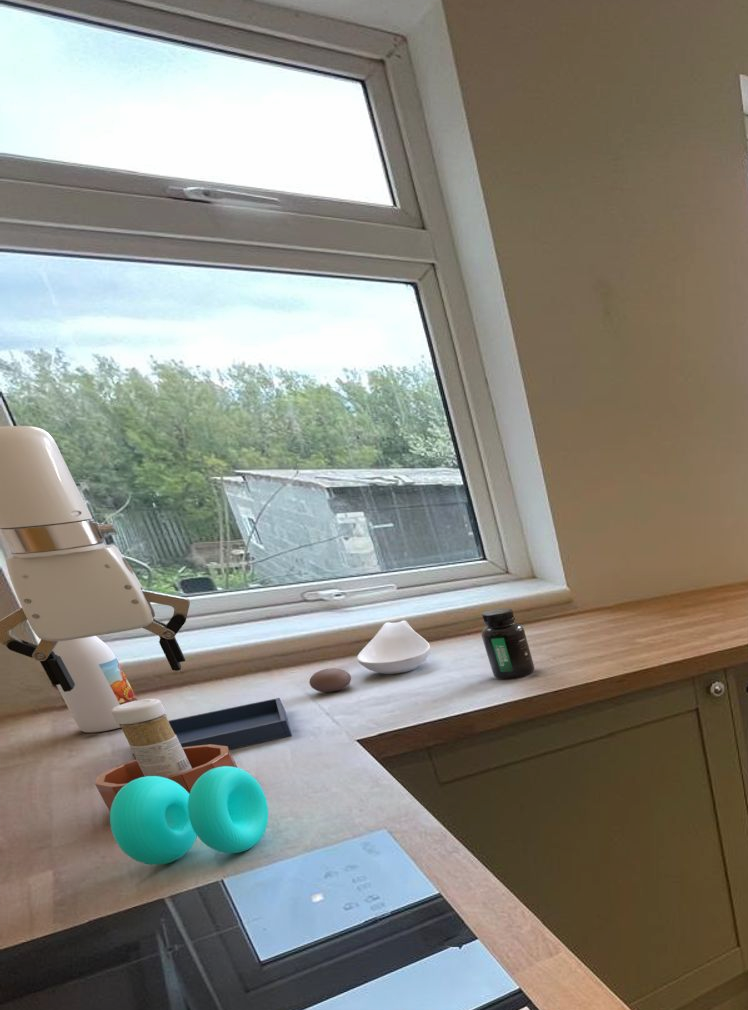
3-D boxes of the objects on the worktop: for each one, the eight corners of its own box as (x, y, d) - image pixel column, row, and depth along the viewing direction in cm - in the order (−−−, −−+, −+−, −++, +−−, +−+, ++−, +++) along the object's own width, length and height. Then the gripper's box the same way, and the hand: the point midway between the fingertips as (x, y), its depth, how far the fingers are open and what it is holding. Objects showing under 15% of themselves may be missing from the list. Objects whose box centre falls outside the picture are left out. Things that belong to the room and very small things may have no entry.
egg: (306, 694, 146) (297, 673, 144) (341, 683, 151) (333, 663, 149) (327, 697, 144) (319, 676, 142) (362, 686, 149) (354, 665, 147)
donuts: (240, 866, 90) (201, 787, 86) (130, 884, 88) (86, 802, 84) (284, 825, 99) (251, 751, 95) (186, 839, 97) (148, 764, 93)
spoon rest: (434, 671, 155) (422, 635, 153) (359, 684, 150) (346, 647, 147) (439, 643, 174) (428, 611, 171) (373, 653, 169) (361, 620, 166)
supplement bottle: (513, 681, 148) (494, 617, 143) (485, 678, 150) (466, 615, 145) (543, 669, 154) (526, 607, 149) (516, 667, 156) (498, 606, 151)
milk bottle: (113, 733, 131) (51, 612, 123) (67, 734, 132) (2, 614, 124) (159, 715, 138) (103, 600, 131) (115, 716, 139) (57, 602, 131)
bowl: (110, 832, 99) (91, 795, 97) (118, 799, 108) (100, 765, 106) (244, 797, 107) (229, 763, 105) (241, 769, 116) (227, 737, 114)
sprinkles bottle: (180, 790, 110) (135, 698, 104) (213, 789, 110) (169, 696, 104) (147, 806, 105) (98, 711, 100) (181, 805, 105) (134, 709, 100)
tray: (140, 770, 117) (132, 754, 116) (145, 742, 127) (138, 726, 126) (292, 735, 127) (285, 720, 126) (285, 711, 138) (279, 697, 137)
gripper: (157, 526, 102) (216, 655, 109) (-52, 548, 92) (28, 690, 98) (154, 531, 97) (217, 667, 104) (-67, 555, 86) (18, 705, 93)
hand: (125, 678), depth 101 cm, fingers open, 9 cm apart
